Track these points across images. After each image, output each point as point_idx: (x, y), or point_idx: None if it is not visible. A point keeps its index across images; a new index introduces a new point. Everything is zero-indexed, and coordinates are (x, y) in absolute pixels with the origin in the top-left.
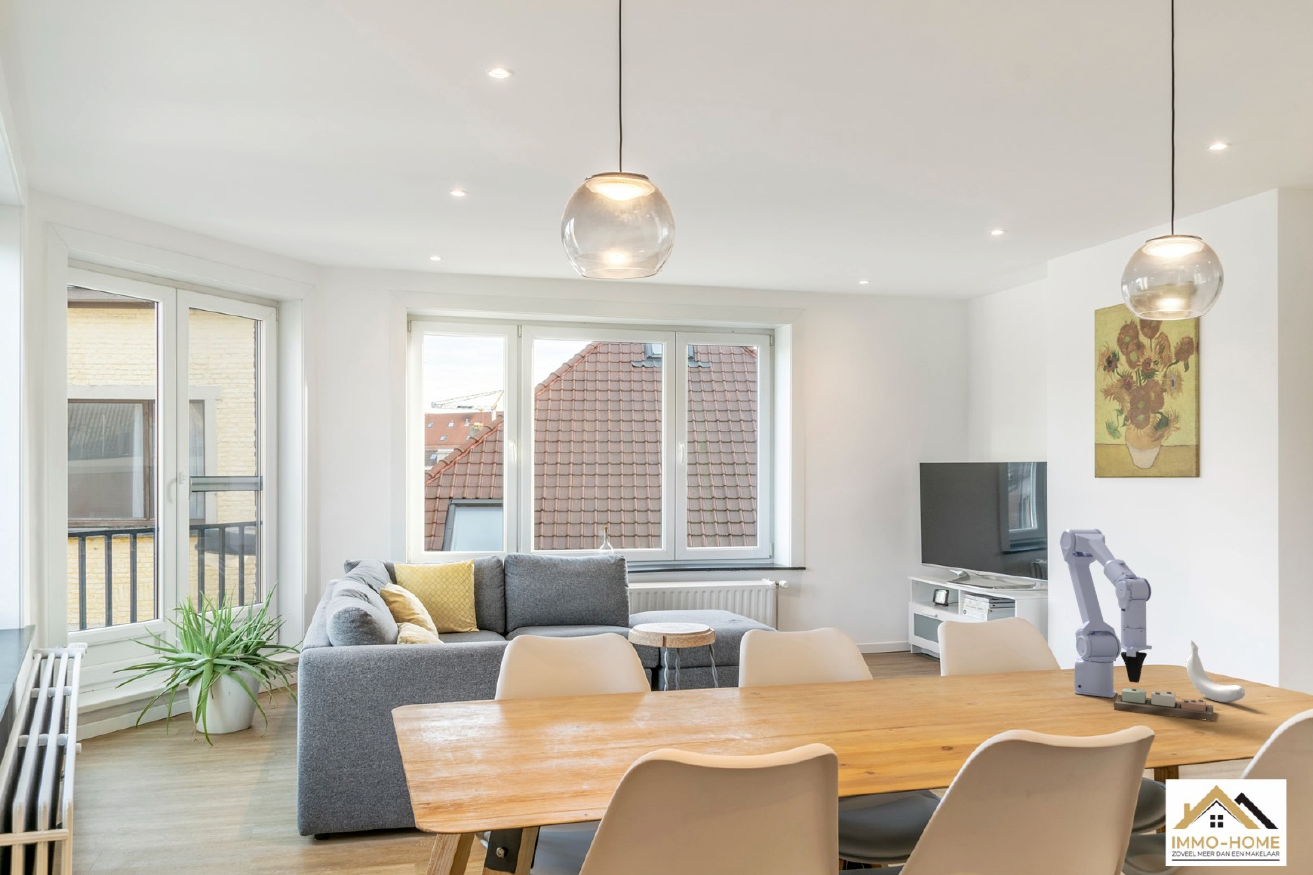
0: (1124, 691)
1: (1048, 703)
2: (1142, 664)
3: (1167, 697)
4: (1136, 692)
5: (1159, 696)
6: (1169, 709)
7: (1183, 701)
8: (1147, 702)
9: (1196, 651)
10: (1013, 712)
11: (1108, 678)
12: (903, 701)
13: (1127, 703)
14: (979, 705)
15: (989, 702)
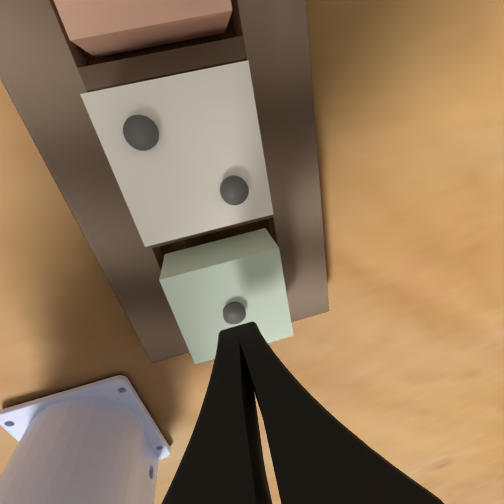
0: (291, 326)
1: (354, 415)
2: (235, 448)
3: (254, 113)
4: (277, 284)
5: (263, 166)
6: (311, 84)
7: (181, 2)
8: (219, 228)
9: None
10: (488, 401)
11: (84, 471)
12: (472, 497)
13: (307, 276)
14: (451, 452)
15: (415, 459)
